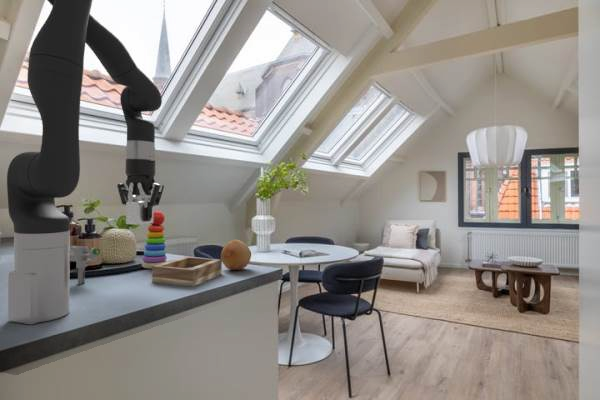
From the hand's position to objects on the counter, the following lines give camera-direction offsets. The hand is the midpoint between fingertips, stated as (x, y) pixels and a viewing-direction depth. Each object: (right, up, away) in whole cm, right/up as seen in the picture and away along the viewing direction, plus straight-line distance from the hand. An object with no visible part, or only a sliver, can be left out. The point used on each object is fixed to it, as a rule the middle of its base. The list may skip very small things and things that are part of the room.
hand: (140, 220), depth 100 cm
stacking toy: (-5, -17, +21) cm, 28 cm away
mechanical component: (-15, -17, -2) cm, 23 cm away
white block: (0, -1, 0) cm, 1 cm away
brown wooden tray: (+11, -17, +7) cm, 22 cm away
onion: (+23, -18, +20) cm, 35 cm away
